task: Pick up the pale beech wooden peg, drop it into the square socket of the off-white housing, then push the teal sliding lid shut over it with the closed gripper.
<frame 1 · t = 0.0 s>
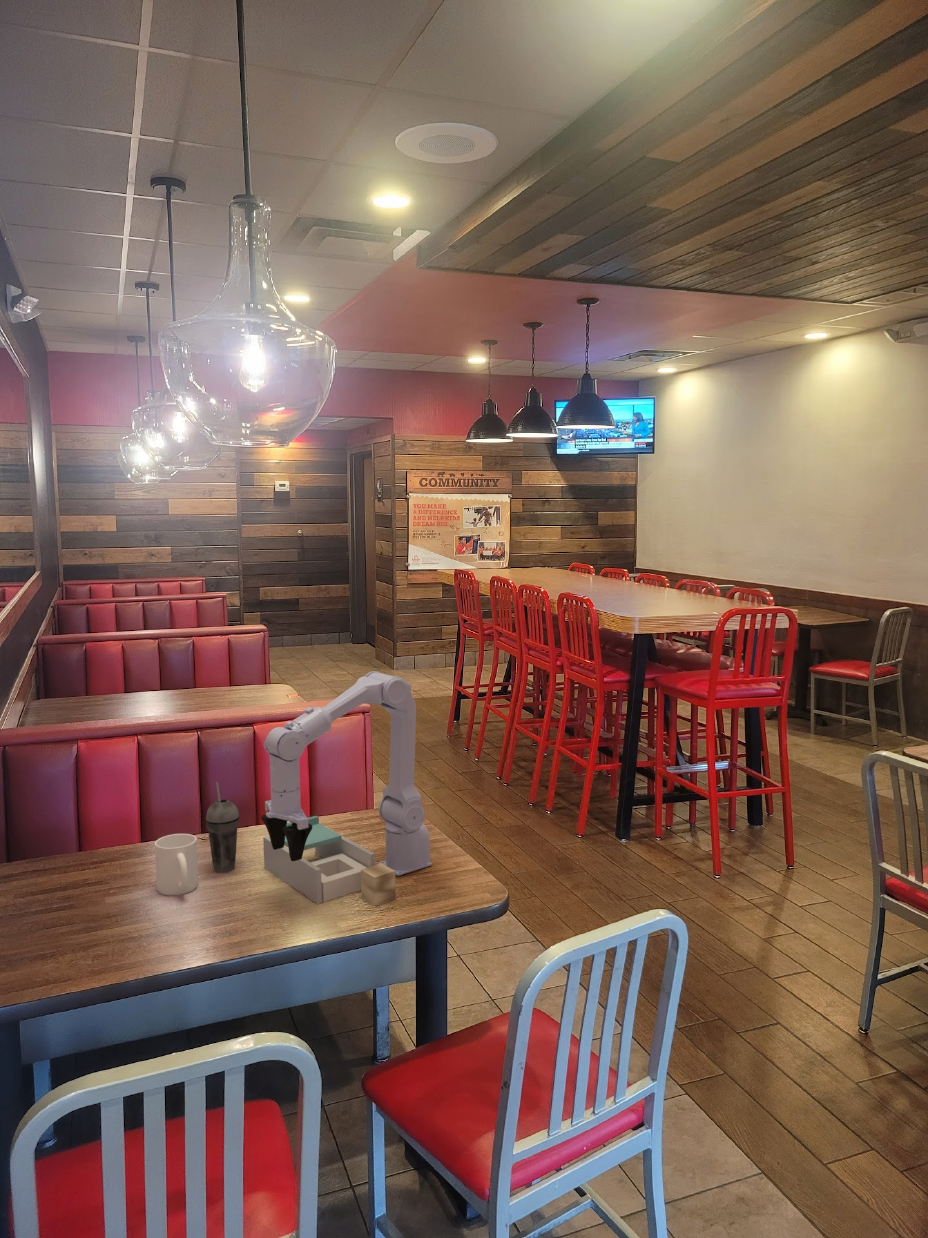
hand: (287, 854, 173), 10 cm above the table, tool pointing down, fingers open, 7 cm apart
lid: (306, 833, 189), point 8 cm above the table, slide at 11.0 cm
mug: (179, 892, 179), on the table
housing: (333, 885, 182), on the table
beverage cup: (224, 869, 191), on the table
peg: (378, 898, 176), on the table
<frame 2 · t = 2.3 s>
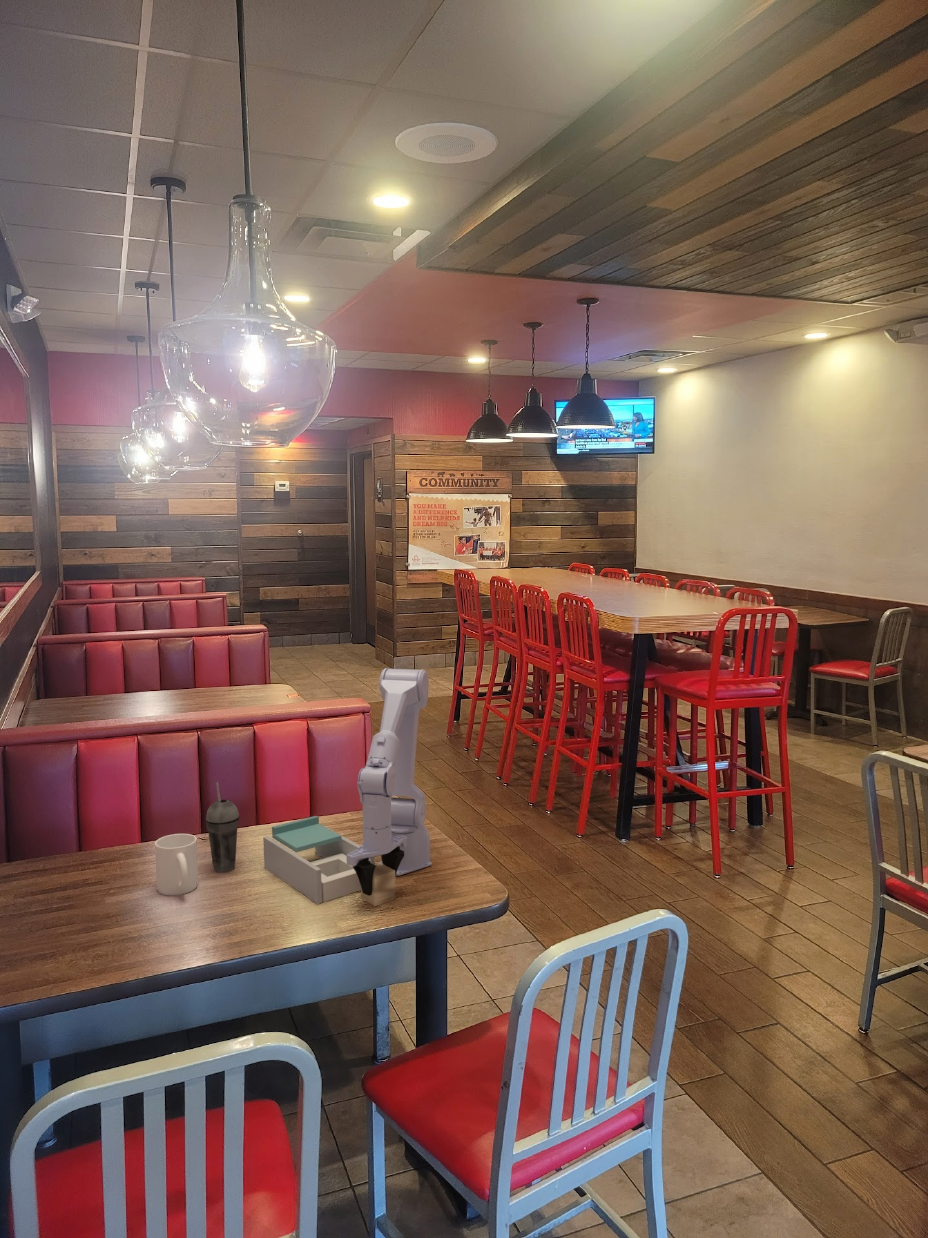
hand: (378, 889, 176), 2 cm above the table, tool pointing down, fingers closed on peg, 5 cm apart
peg: (378, 898, 176), on the table, touching gripper
everything else where it was.
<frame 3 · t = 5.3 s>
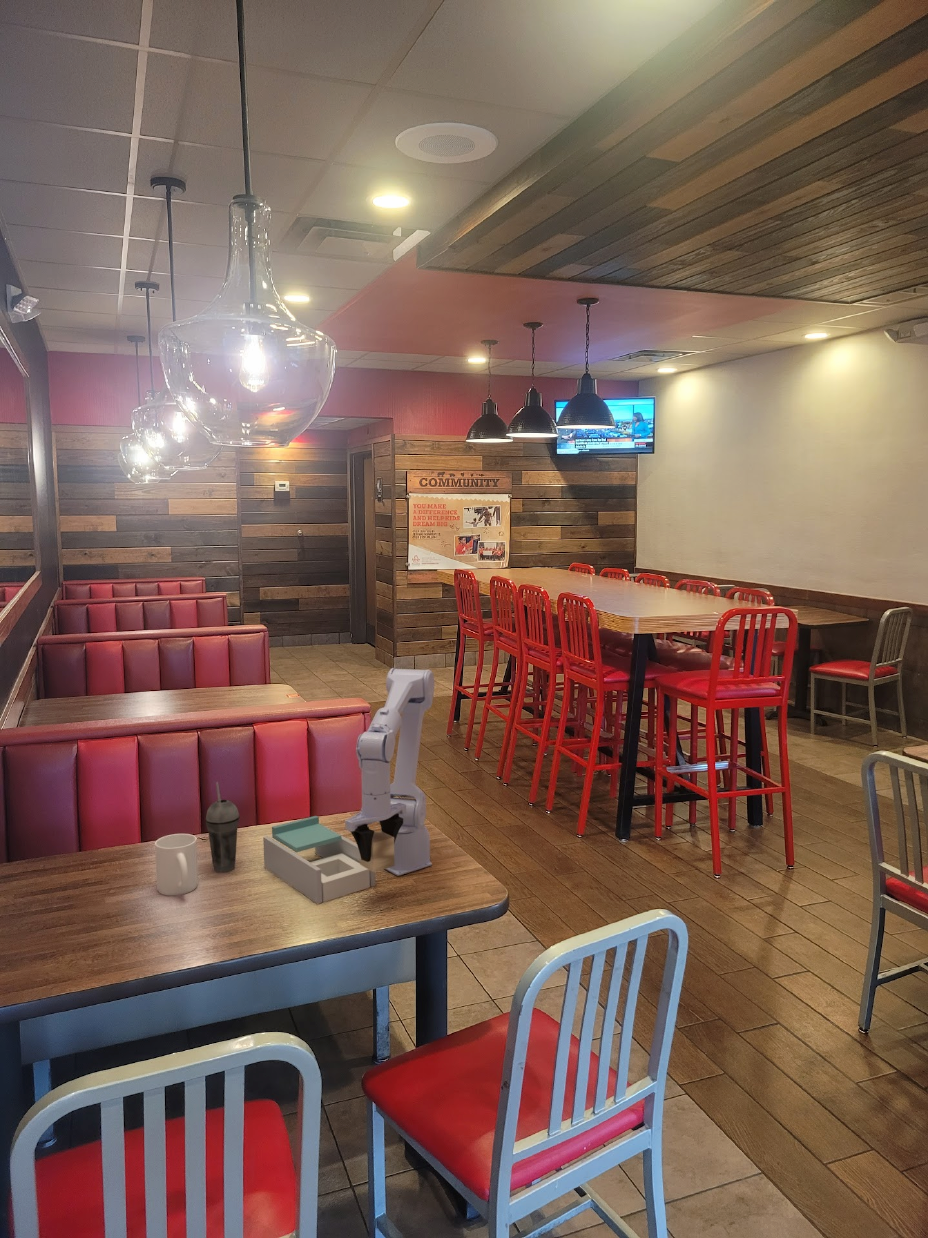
hand: (377, 856, 175), 9 cm above the table, tool pointing down, fingers closed on peg, 5 cm apart
peg: (377, 865, 175), point 7 cm above the table, touching gripper
everything else where it was.
when the fingers open (5 cm above the table, at t = 8.1 s): peg drops 3 cm, resting in housing.
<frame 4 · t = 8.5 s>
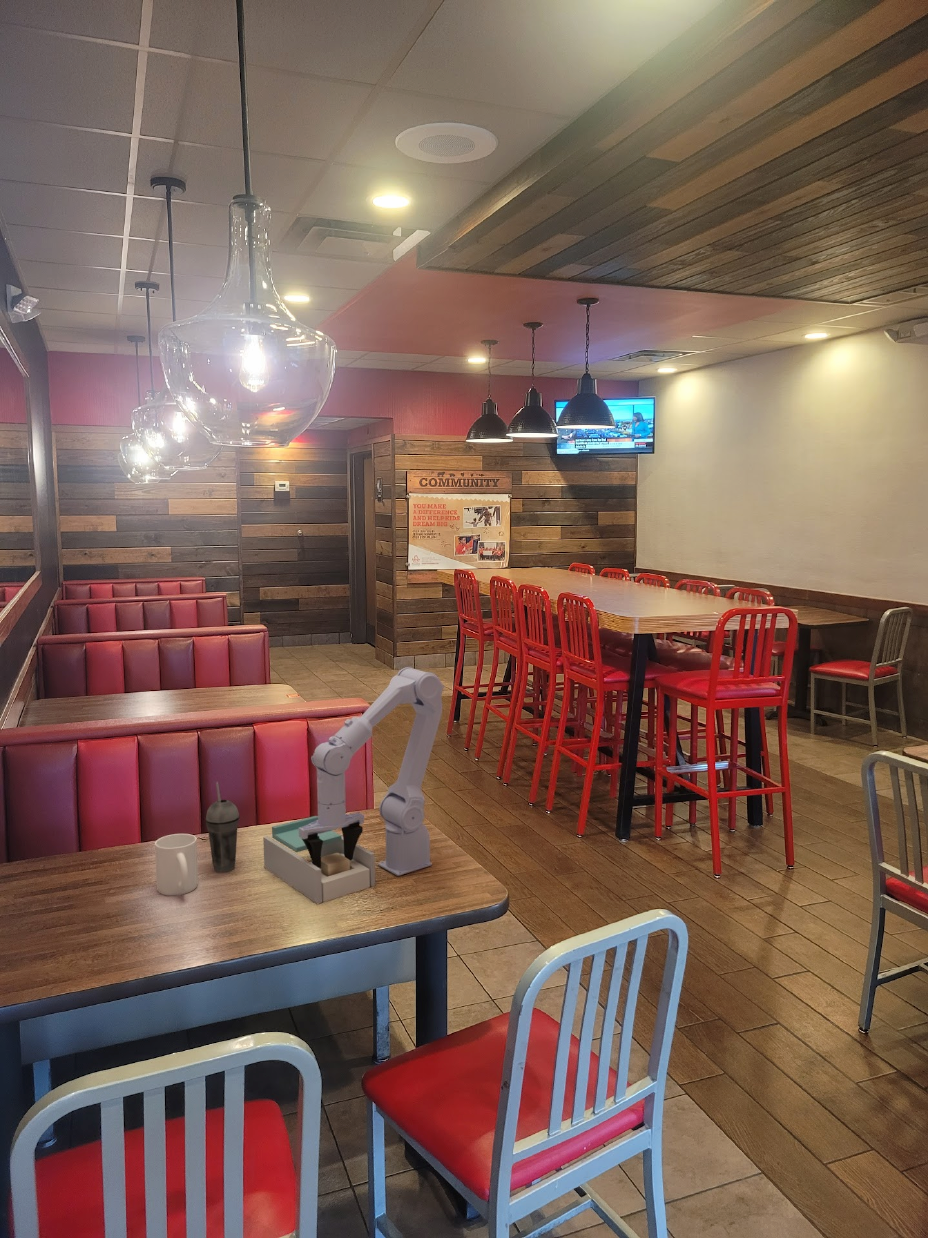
hand: (332, 863, 181), 5 cm above the table, tool pointing down, fingers open, 7 cm apart
peg: (333, 886, 182), resting in housing
everything else where it was.
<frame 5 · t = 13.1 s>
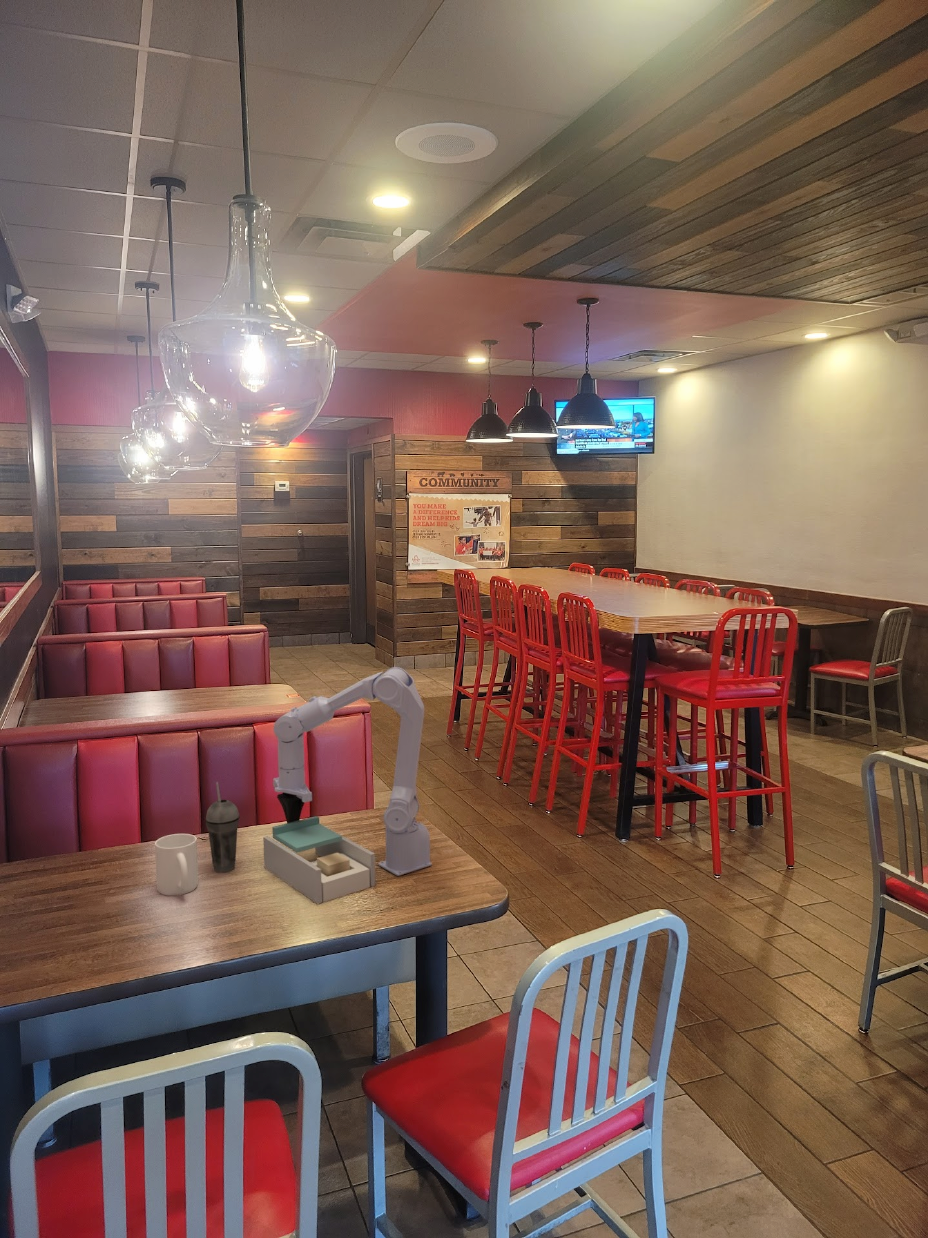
hand: (293, 825, 194), 8 cm above the table, tool pointing down, fingers closed
lid: (307, 833, 189), point 8 cm above the table, slide at 10.8 cm, touching gripper
everything else where it was.
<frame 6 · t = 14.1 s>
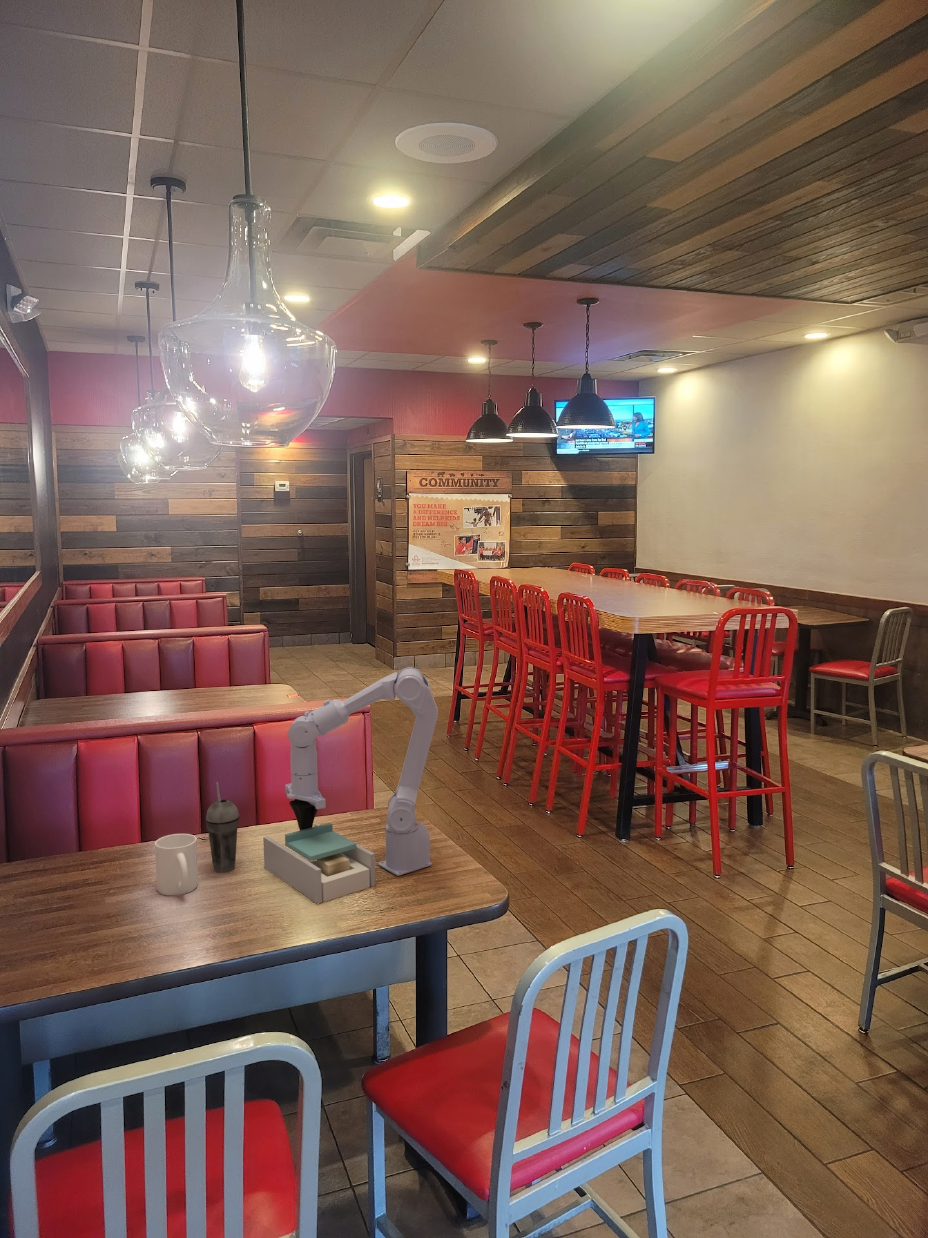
hand: (305, 832, 190), 8 cm above the table, tool pointing down, fingers closed
lid: (320, 841, 185), point 8 cm above the table, slide at 5.0 cm, touching gripper
everything else where it was.
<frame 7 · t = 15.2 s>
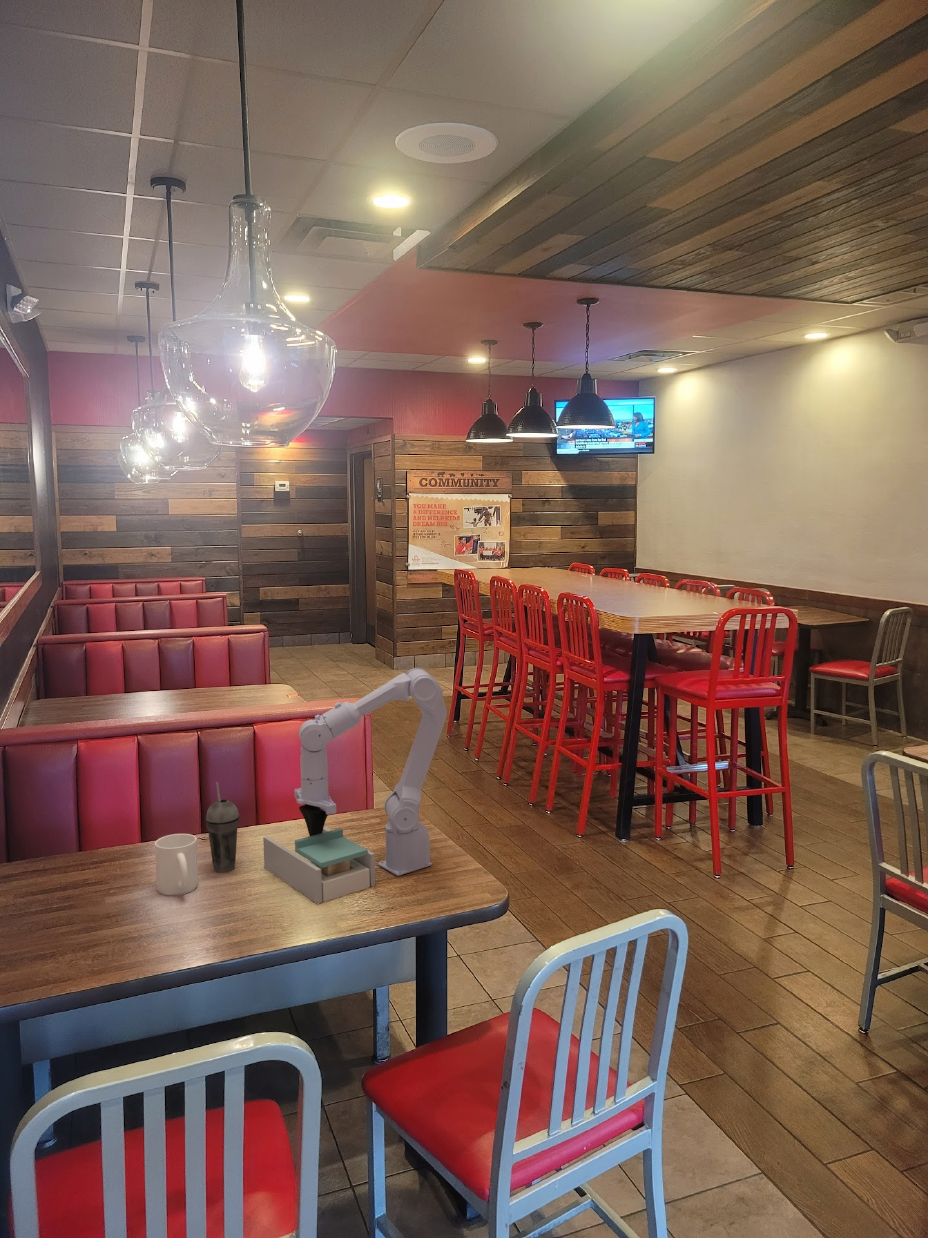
hand: (315, 838, 186), 8 cm above the table, tool pointing down, fingers closed
lid: (331, 847, 181), point 8 cm above the table, slide at 0.6 cm, touching gripper
everything else where it was.
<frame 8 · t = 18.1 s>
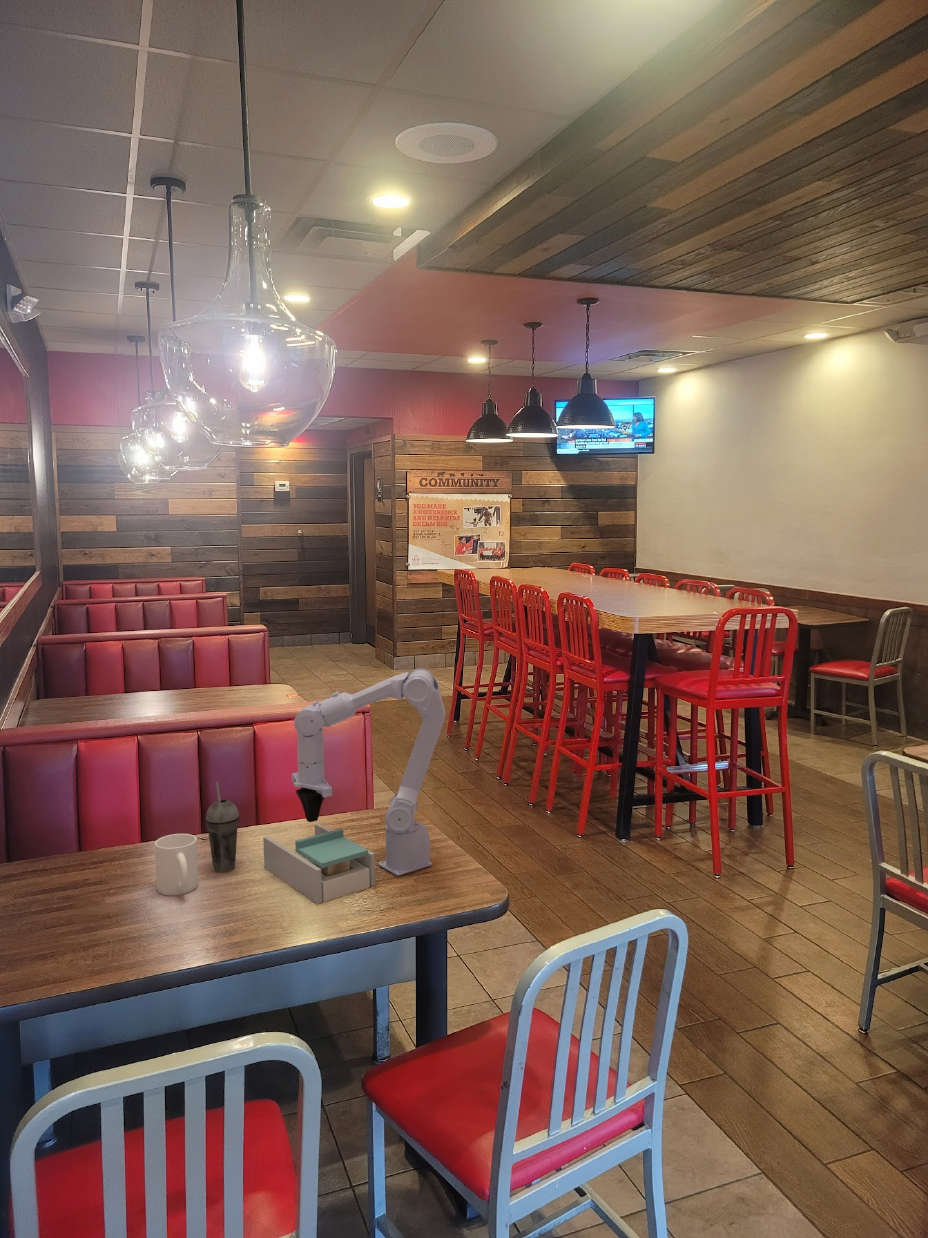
hand: (312, 820, 191), 10 cm above the table, tool pointing down, fingers closed
lid: (331, 847, 181), point 8 cm above the table, slide at 0.3 cm
everything else where it was.
at the end: peg 0.1 cm off-centre on the housing, point 0.0 cm above the housing's base; lid slide at 0.3 cm; peg tilted 0° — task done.
